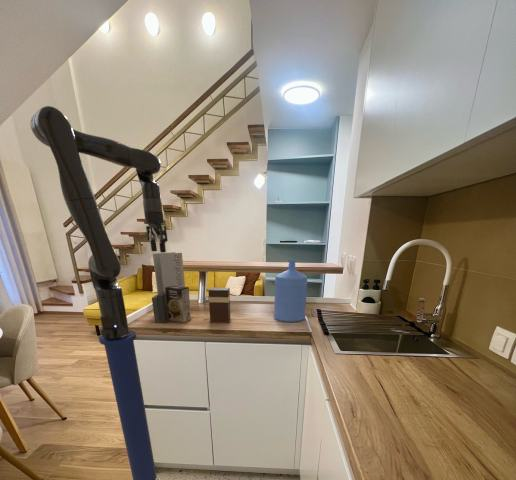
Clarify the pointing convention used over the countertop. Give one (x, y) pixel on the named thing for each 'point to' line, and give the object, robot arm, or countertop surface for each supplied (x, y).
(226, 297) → the box
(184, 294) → the coffee box
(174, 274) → the tall grey box
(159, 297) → the grey books
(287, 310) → the water jug
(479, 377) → the countertop surface
